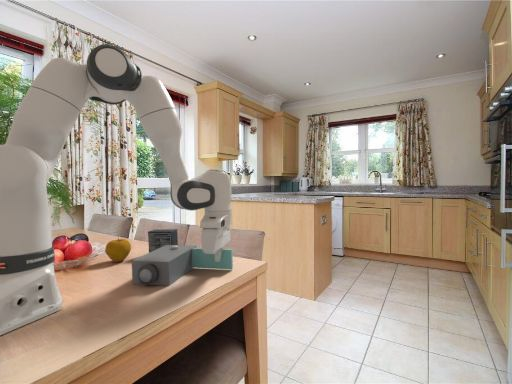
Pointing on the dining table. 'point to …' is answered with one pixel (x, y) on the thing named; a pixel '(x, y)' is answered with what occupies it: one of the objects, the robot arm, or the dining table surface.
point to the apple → (118, 249)
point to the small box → (162, 238)
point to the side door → (212, 259)
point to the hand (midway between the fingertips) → (218, 260)
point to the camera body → (162, 265)
